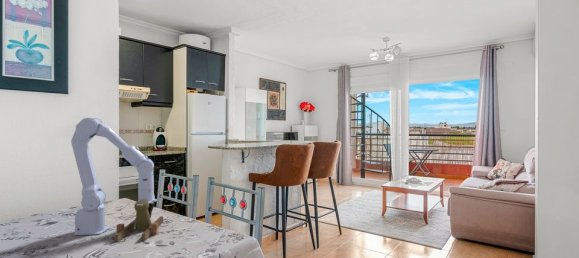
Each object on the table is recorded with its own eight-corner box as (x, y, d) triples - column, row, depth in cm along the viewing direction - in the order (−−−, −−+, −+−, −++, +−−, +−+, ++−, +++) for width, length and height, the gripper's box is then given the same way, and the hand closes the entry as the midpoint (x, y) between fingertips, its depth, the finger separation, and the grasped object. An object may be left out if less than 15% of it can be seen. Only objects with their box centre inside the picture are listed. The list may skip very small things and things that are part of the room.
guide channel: (108, 242, 111) (108, 231, 111) (132, 223, 132) (132, 213, 132) (151, 240, 112) (150, 229, 112) (168, 222, 133) (168, 212, 133)
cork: (145, 232, 121) (143, 206, 119) (132, 230, 122) (129, 204, 120) (155, 224, 127) (153, 199, 124) (142, 222, 128) (139, 197, 126)
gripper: (150, 192, 121) (150, 227, 121) (161, 185, 135) (162, 216, 135) (131, 193, 120) (131, 228, 120) (144, 185, 134) (145, 217, 135)
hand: (146, 222), depth 128 cm, fingers closed, pressing on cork
